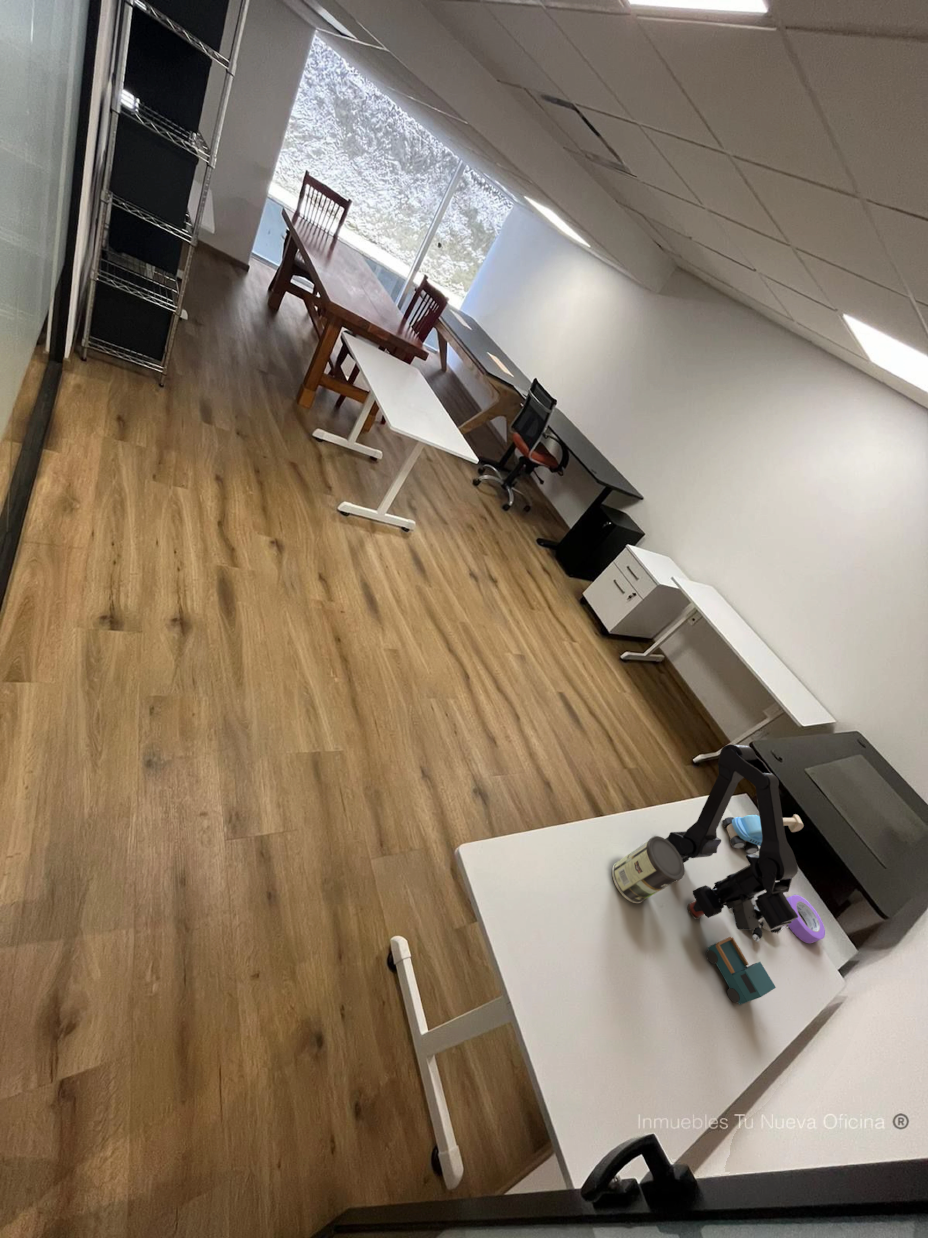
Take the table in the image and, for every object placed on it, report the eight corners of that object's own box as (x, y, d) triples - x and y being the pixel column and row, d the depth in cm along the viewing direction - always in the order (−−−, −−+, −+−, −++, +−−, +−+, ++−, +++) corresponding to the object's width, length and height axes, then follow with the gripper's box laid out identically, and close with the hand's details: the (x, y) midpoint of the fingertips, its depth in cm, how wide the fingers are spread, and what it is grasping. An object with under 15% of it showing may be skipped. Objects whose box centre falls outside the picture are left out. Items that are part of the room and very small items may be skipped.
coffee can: (651, 890, 135) (691, 866, 127) (633, 912, 127) (674, 888, 119) (623, 854, 139) (660, 829, 131) (604, 872, 131) (642, 847, 124)
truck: (702, 950, 129) (726, 938, 125) (718, 942, 134) (742, 931, 129) (734, 1007, 122) (760, 997, 118) (750, 997, 127) (776, 987, 122)
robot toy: (749, 949, 138) (779, 931, 147) (762, 943, 136) (791, 926, 144) (719, 900, 145) (748, 886, 154) (731, 894, 143) (760, 880, 151)
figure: (687, 913, 135) (711, 900, 131) (687, 900, 139) (710, 887, 134) (699, 922, 135) (724, 909, 131) (699, 908, 138) (723, 896, 134)
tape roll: (821, 941, 153) (832, 936, 151) (799, 946, 147) (811, 941, 145) (794, 898, 161) (805, 893, 158) (773, 901, 155) (783, 896, 153)
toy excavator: (766, 861, 167) (813, 836, 157) (727, 847, 162) (772, 820, 152) (755, 835, 173) (799, 810, 164) (717, 821, 169) (760, 794, 159)
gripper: (748, 928, 117) (697, 952, 126) (787, 910, 128) (737, 933, 136) (716, 877, 124) (670, 903, 132) (756, 864, 134) (711, 888, 143)
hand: (698, 908), depth 136 cm, fingers closed on figure, 3 cm apart
